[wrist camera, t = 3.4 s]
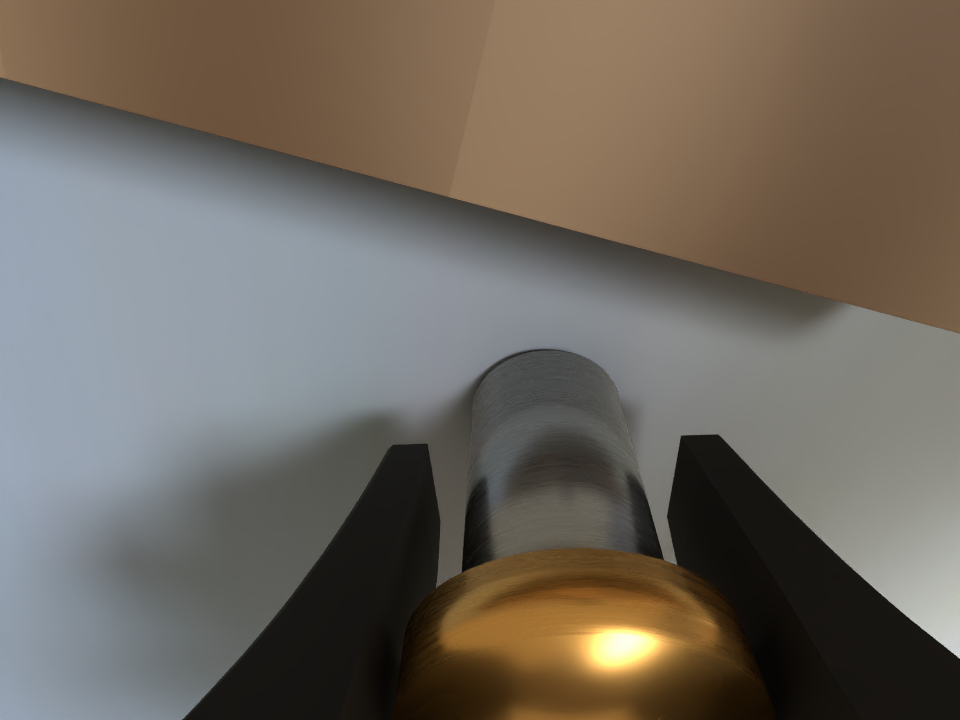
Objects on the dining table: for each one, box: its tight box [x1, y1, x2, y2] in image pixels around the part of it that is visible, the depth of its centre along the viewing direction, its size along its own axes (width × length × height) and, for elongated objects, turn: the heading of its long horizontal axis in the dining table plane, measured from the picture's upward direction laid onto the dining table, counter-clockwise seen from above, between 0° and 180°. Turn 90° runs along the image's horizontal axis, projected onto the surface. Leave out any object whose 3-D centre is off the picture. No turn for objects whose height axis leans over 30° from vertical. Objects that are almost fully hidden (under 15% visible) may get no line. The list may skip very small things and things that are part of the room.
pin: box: [392, 350, 775, 720], centre depth 9 cm, size 4×4×6 cm
